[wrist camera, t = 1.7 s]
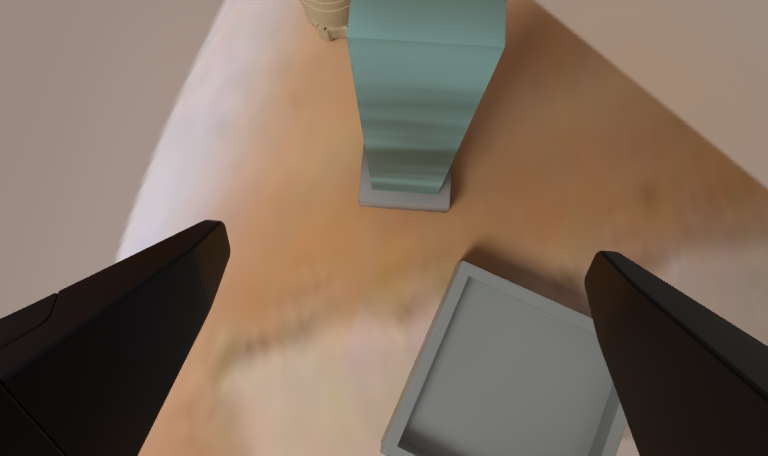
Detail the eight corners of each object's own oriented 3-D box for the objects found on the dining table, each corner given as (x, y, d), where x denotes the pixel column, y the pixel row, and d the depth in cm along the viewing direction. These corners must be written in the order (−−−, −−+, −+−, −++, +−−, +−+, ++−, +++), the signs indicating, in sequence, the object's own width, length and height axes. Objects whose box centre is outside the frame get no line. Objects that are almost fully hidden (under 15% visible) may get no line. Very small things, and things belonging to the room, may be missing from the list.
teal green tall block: (446, 212, 22) (535, 77, 9) (360, 206, 23) (312, 62, 9) (450, 131, 23) (538, -110, 10) (367, 125, 23) (335, -121, 10)
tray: (566, 534, 19) (582, 555, 18) (381, 440, 20) (380, 453, 19) (632, 341, 21) (652, 345, 19) (457, 263, 22) (462, 260, 20)
